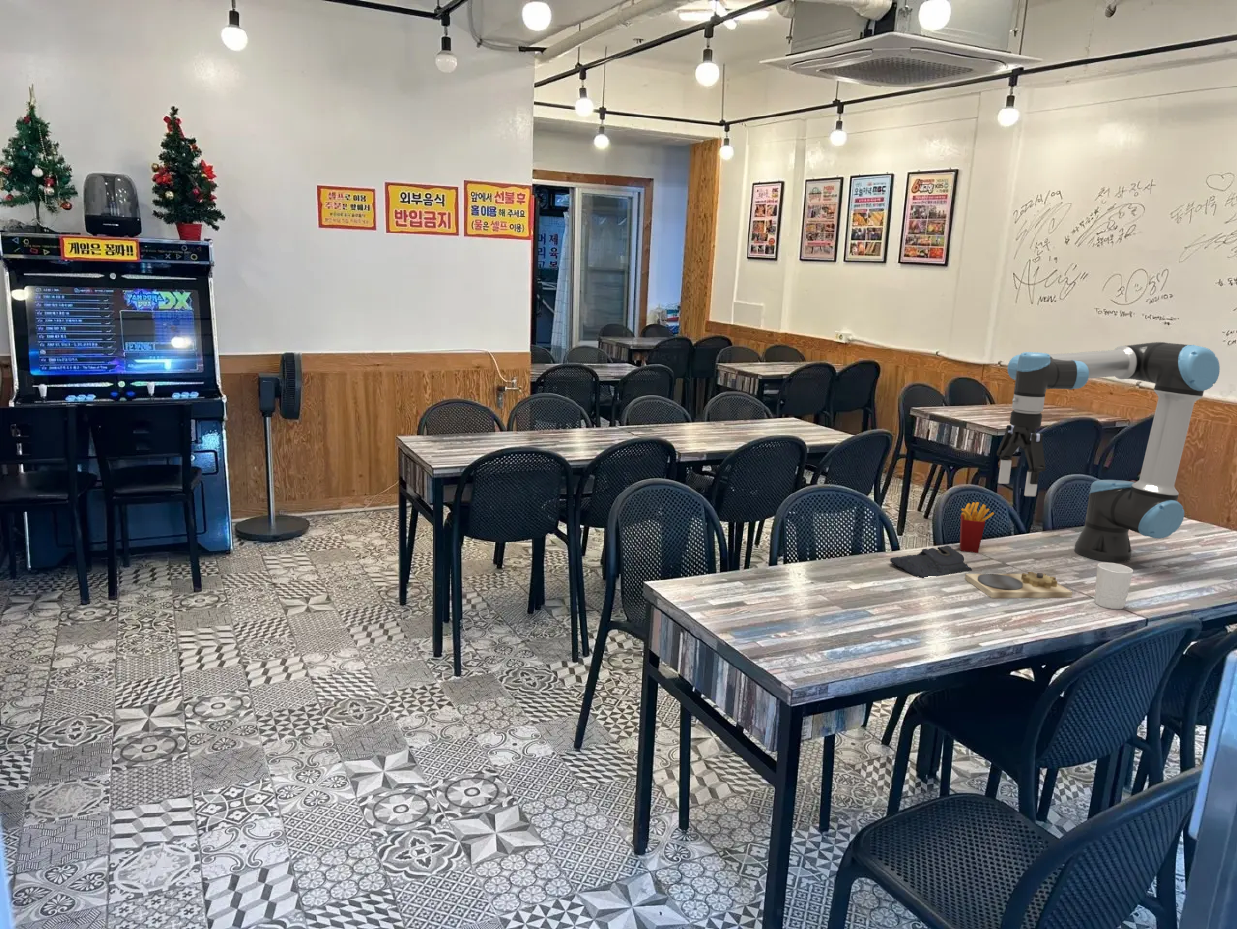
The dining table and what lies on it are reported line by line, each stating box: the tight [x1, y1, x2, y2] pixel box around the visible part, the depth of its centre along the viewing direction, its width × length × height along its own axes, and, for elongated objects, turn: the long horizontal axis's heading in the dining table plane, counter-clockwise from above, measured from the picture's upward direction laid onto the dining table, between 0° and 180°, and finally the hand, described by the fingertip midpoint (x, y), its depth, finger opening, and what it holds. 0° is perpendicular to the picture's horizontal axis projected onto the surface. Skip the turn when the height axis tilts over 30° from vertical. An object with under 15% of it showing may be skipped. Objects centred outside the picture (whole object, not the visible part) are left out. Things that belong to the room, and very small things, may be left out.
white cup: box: [1093, 562, 1134, 610], centre depth 221 cm, size 8×8×10 cm
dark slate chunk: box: [889, 545, 973, 579], centre depth 247 cm, size 15×22×5 cm
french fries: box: [959, 501, 995, 554], centre depth 263 cm, size 9×8×15 cm
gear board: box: [964, 571, 1073, 599], centre depth 232 cm, size 22×14×4 cm, turn 96°
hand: (1016, 489), depth 234 cm, fingers open, 13 cm apart
